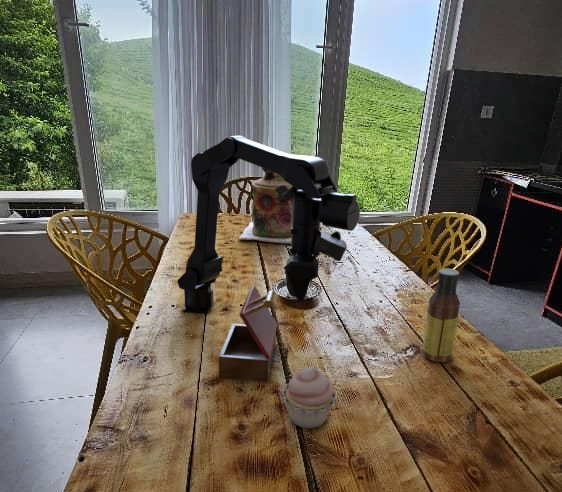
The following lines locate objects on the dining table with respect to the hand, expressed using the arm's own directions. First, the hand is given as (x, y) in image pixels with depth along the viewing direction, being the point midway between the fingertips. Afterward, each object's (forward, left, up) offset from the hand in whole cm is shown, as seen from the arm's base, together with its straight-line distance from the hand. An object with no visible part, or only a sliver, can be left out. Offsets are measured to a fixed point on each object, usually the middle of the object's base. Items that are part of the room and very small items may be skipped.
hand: (301, 292), depth 96 cm
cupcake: (+3, -25, -13) cm, 28 cm away
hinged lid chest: (-10, -9, -12) cm, 18 cm away
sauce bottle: (+30, -1, -13) cm, 33 cm away
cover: (-8, -9, -3) cm, 12 cm away
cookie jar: (-15, +84, -13) cm, 86 cm away
